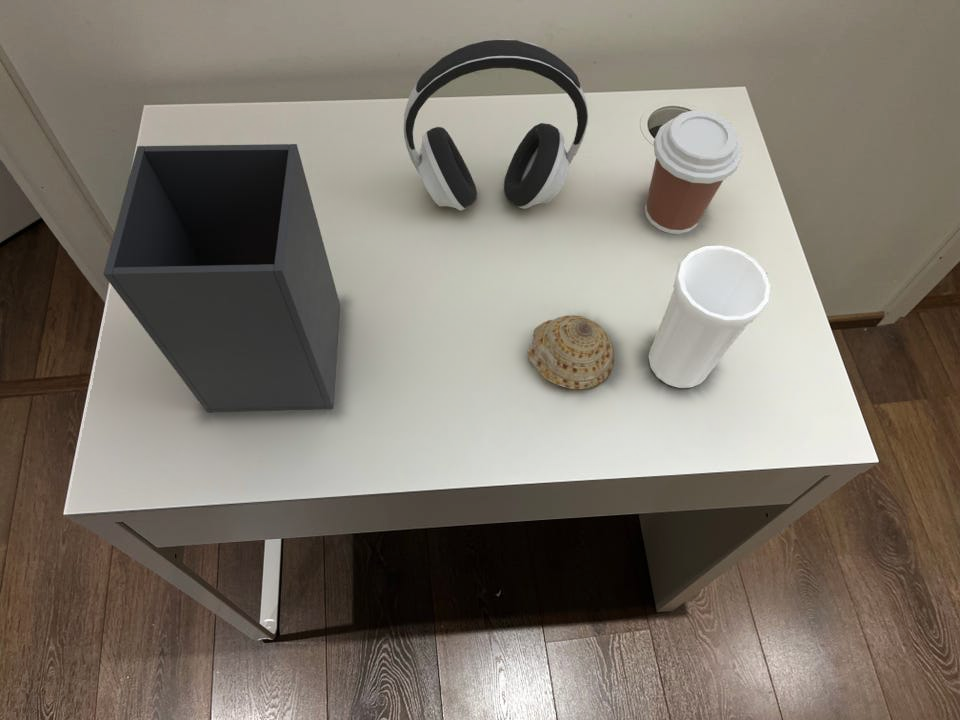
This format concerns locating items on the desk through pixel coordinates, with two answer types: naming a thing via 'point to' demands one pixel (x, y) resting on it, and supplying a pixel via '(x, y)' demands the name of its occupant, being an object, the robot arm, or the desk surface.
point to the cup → (707, 313)
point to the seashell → (572, 352)
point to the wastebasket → (230, 274)
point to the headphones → (538, 154)
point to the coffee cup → (690, 168)
